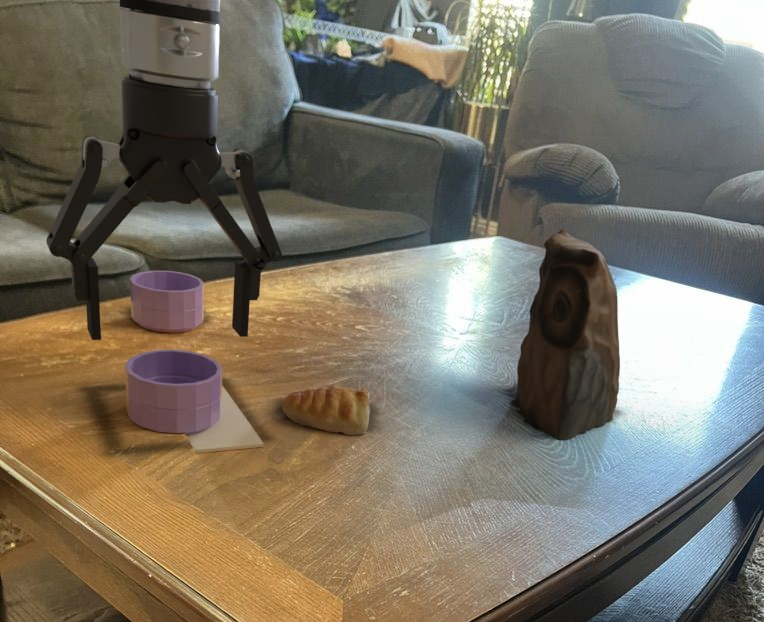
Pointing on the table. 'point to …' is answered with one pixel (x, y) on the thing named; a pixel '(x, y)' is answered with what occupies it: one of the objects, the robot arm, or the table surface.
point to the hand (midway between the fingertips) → (170, 333)
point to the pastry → (330, 409)
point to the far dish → (167, 301)
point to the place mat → (226, 431)
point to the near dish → (173, 391)
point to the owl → (570, 343)
